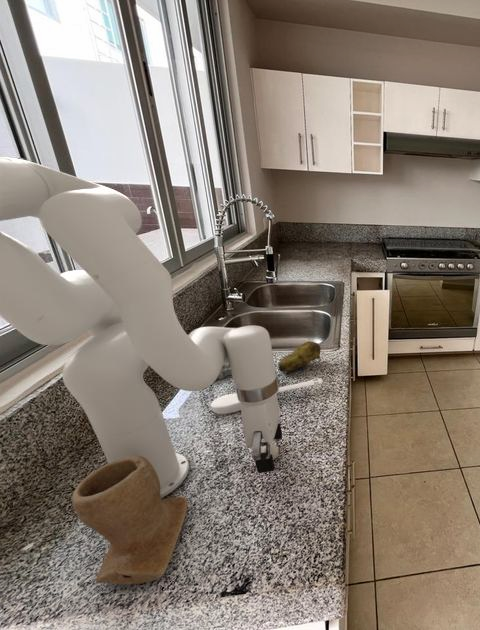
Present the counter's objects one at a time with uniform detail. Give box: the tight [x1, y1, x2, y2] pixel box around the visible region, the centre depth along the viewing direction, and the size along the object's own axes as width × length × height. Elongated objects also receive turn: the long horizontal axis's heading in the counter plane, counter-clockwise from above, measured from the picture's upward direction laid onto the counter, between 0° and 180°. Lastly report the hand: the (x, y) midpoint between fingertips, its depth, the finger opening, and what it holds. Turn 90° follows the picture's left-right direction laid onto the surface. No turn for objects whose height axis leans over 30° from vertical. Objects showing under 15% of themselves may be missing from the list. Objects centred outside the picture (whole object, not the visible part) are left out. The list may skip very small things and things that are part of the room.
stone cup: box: [71, 456, 189, 586], centre depth 54 cm, size 15×12×15 cm
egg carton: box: [217, 363, 232, 380], centre depth 104 cm, size 11×8×4 cm
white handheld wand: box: [210, 377, 324, 415], centre depth 93 cm, size 28×6×3 cm, turn 114°
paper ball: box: [261, 443, 280, 461], centre depth 74 cm, size 4×4×4 cm
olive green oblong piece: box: [278, 341, 322, 373], centre depth 108 cm, size 8×13×8 cm, turn 109°
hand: (271, 453), depth 74 cm, fingers open, 8 cm apart
